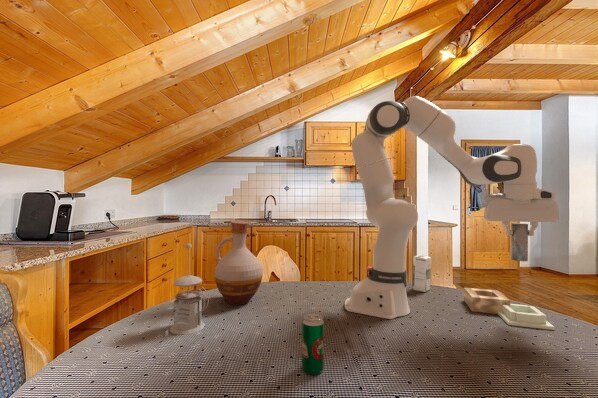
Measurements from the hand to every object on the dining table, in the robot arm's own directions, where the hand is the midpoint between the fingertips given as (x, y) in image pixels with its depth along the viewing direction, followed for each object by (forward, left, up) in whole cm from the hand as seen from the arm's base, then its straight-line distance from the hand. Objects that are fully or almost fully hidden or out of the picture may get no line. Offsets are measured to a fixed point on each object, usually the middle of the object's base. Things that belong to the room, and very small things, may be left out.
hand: (519, 235), depth 97 cm
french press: (-98, -39, -28) cm, 109 cm away
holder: (+1, -1, -28) cm, 28 cm away
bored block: (-7, +8, -28) cm, 30 cm away
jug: (-96, -14, -28) cm, 101 cm away
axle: (0, 0, -8) cm, 8 cm away
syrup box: (-27, +23, -28) cm, 45 cm away
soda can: (-58, -49, -28) cm, 81 cm away
